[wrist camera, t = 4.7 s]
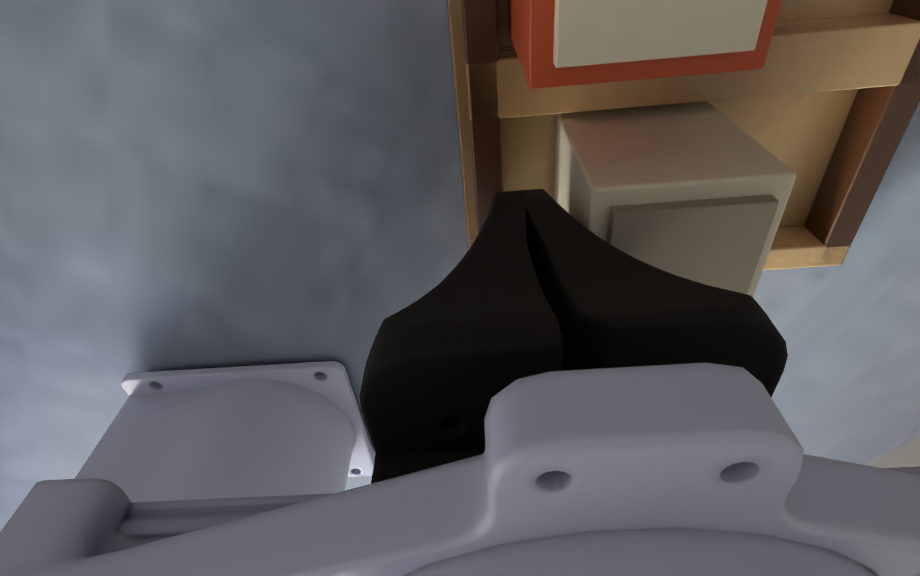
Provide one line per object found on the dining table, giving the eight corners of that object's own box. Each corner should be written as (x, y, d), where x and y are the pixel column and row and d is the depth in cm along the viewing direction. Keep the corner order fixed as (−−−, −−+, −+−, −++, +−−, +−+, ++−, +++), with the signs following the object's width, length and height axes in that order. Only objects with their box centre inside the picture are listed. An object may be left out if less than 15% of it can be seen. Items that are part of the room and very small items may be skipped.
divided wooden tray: (470, 264, 18) (471, 299, 16) (424, -278, 10) (417, -313, 8) (812, 240, 17) (848, 275, 15) (1063, -359, 9) (1191, -413, 8)
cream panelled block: (552, 238, 16) (581, 344, 12) (556, 112, 13) (594, 196, 10) (679, 229, 16) (749, 334, 12) (708, 99, 13) (808, 180, 9)
